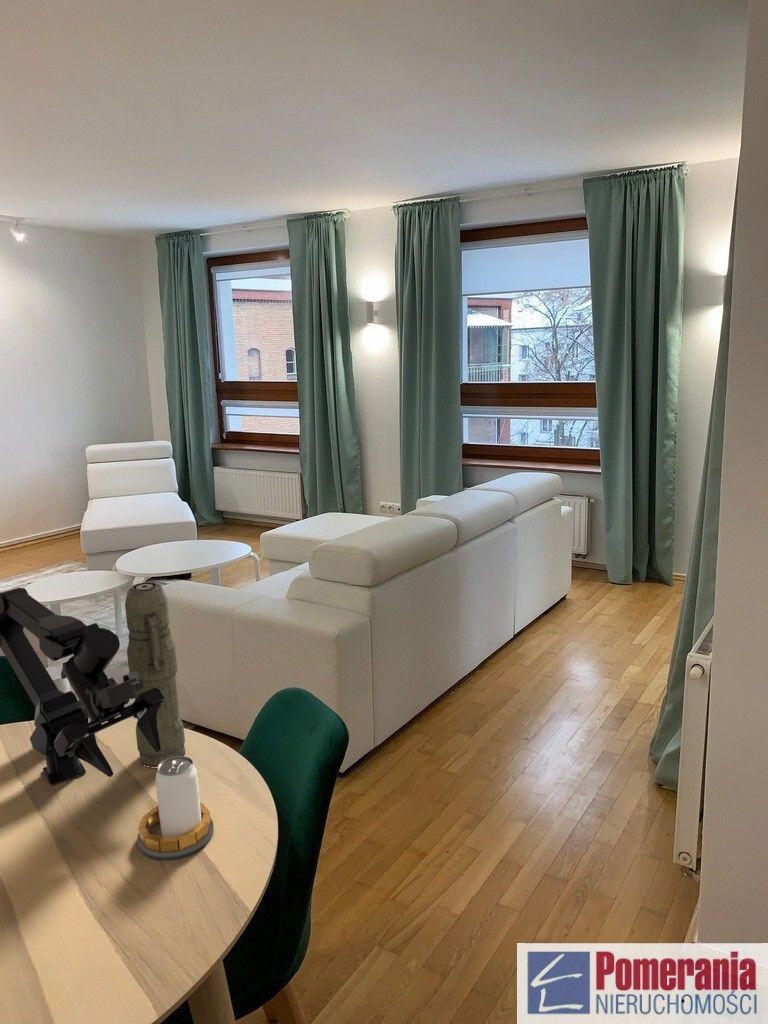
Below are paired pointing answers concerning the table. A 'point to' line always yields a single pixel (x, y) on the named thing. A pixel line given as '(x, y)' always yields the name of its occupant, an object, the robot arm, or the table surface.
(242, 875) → the table surface
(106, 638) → the robot arm
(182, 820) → the can
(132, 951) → the table surface
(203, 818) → the ring plate
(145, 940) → the table surface
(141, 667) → the thermos
